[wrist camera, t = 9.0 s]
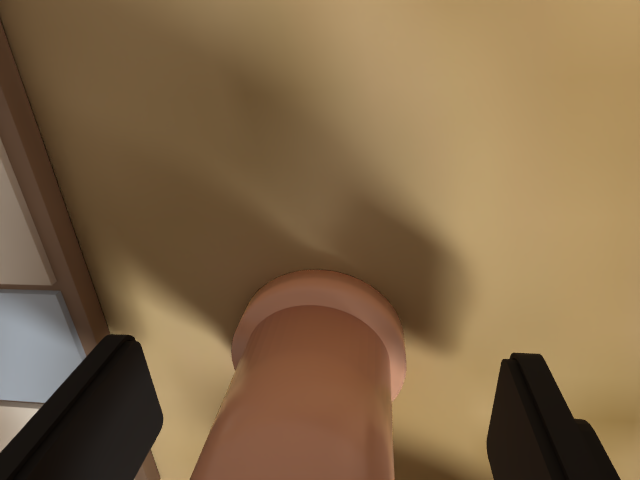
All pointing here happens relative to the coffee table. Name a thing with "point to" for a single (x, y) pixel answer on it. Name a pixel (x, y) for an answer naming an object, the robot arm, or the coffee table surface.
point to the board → (38, 271)
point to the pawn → (310, 384)
